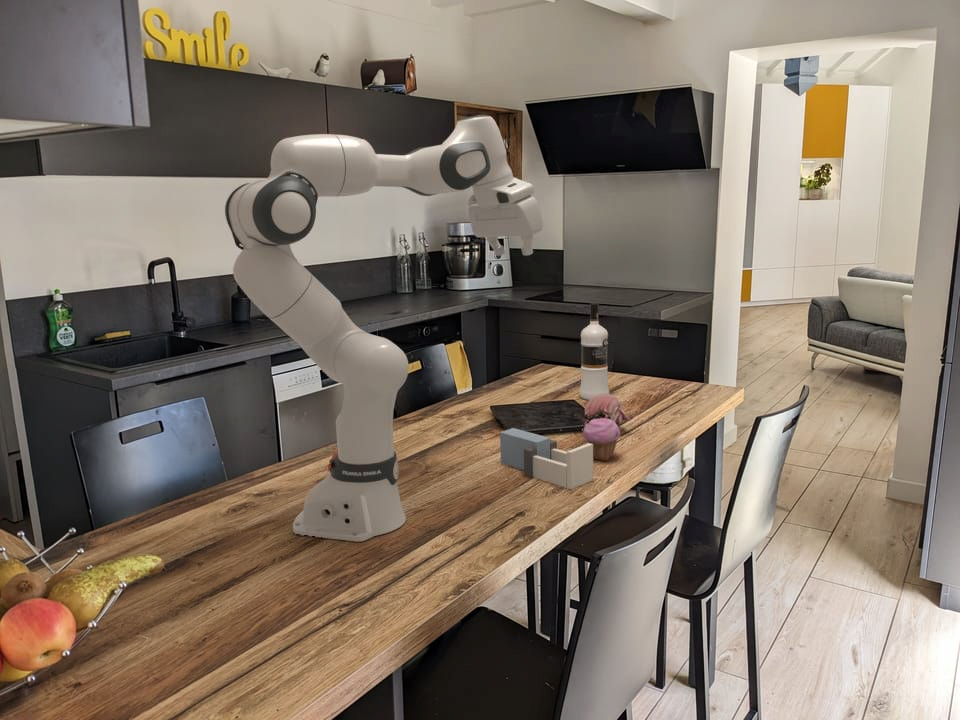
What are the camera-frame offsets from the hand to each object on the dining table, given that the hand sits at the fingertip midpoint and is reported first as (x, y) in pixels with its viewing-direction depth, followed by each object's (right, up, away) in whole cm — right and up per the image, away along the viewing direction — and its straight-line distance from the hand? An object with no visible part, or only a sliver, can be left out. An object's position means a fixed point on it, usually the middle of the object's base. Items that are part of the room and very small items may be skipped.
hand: (514, 254), depth 169 cm
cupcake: (+23, -47, +23) cm, 57 cm away
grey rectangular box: (+3, -48, +19) cm, 52 cm away
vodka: (+29, -35, +79) cm, 91 cm away
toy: (+27, -43, +42) cm, 66 cm away
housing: (+11, -50, +11) cm, 52 cm away
